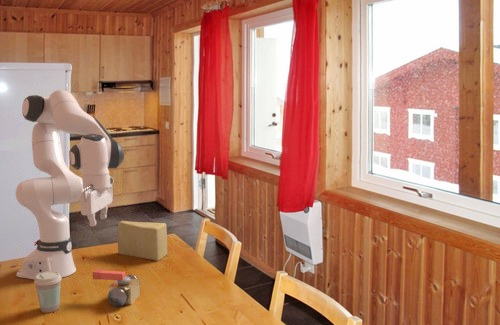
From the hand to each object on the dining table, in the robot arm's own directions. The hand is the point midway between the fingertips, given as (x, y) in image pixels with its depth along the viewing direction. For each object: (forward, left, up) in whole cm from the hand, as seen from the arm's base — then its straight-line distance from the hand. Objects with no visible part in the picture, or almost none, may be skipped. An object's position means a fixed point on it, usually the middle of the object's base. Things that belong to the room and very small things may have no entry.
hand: (98, 222), depth 171 cm
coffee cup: (-14, -10, -28) cm, 33 cm away
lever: (+3, +1, -22) cm, 22 cm away
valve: (+8, +1, -28) cm, 29 cm away
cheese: (-4, +45, -28) cm, 54 cm away
